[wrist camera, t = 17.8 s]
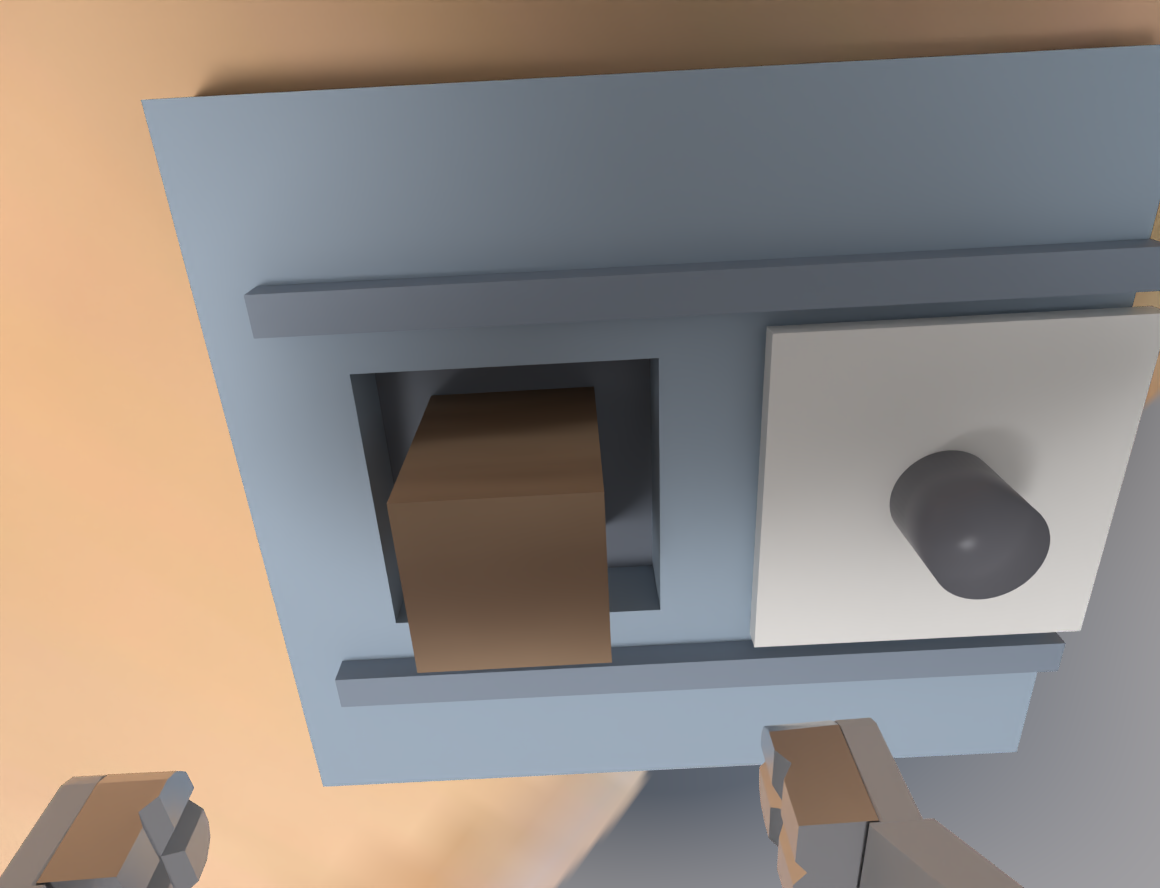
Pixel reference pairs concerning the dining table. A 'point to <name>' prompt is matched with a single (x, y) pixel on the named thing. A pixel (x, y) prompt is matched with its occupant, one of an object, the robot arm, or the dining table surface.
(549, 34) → the dining table surface
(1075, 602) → the lid
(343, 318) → the puzzle board
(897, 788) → the robot arm
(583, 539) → the walnut block
